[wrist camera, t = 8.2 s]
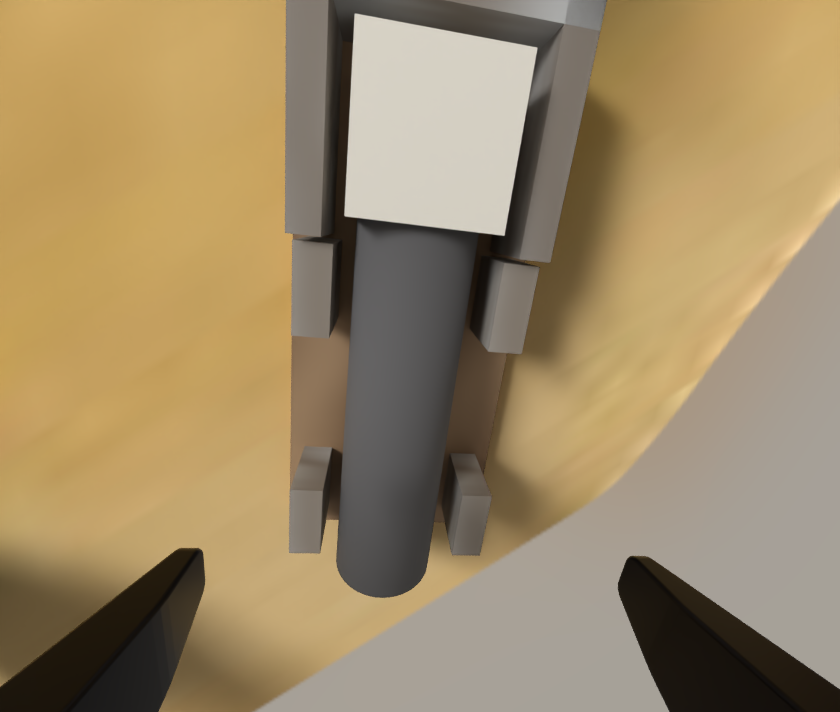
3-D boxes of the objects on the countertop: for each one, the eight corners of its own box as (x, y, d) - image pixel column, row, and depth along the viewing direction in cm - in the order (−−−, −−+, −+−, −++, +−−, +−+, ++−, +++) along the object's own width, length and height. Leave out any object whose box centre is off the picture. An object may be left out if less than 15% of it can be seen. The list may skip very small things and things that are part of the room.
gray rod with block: (426, 524, 19) (438, 607, 15) (336, 522, 19) (324, 607, 15) (489, 100, 14) (537, 47, 9) (362, 78, 13) (354, 13, 9)
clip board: (294, 504, 19) (270, 582, 15) (301, -20, 13) (263, -138, 9) (469, 509, 21) (492, 583, 16) (559, 30, 14) (637, -53, 10)
